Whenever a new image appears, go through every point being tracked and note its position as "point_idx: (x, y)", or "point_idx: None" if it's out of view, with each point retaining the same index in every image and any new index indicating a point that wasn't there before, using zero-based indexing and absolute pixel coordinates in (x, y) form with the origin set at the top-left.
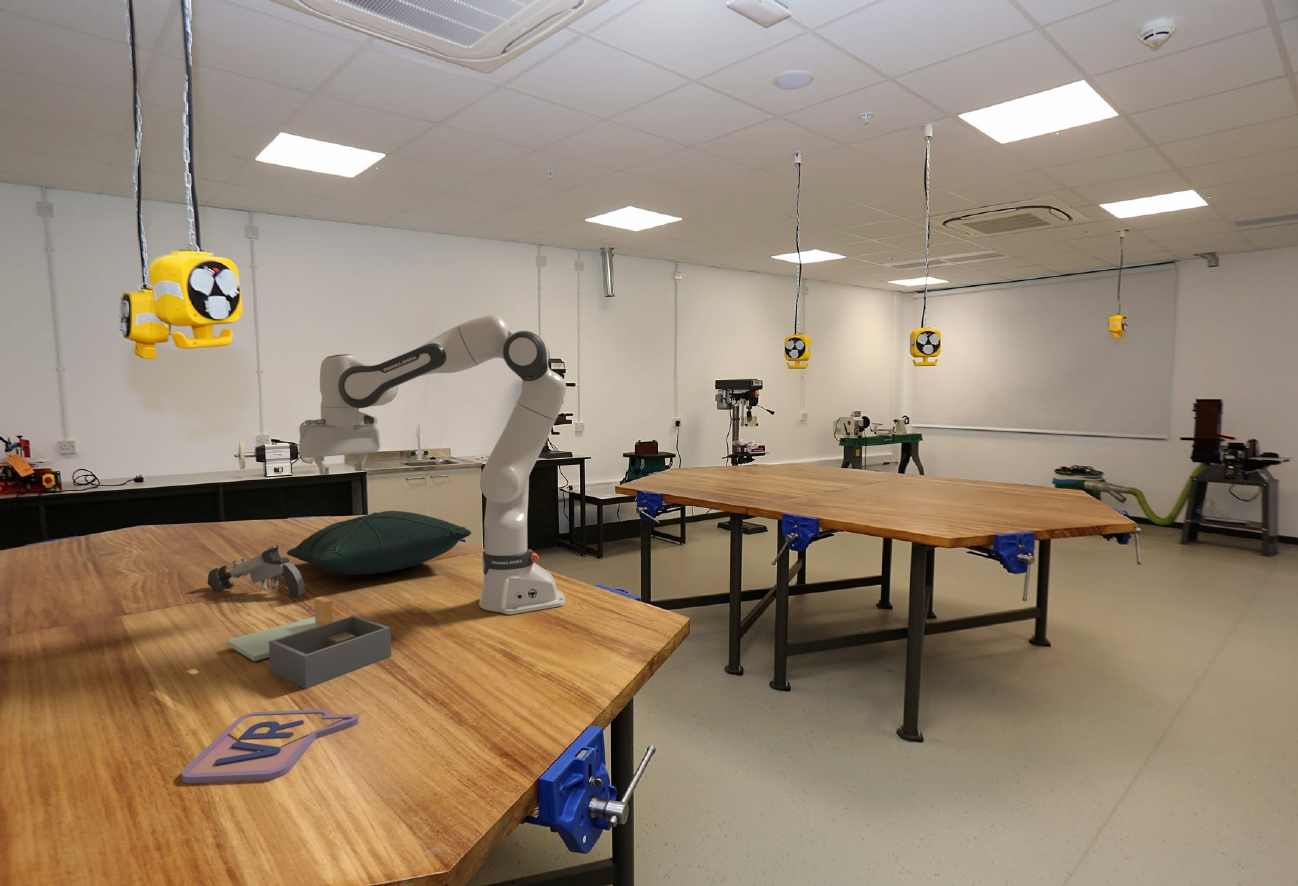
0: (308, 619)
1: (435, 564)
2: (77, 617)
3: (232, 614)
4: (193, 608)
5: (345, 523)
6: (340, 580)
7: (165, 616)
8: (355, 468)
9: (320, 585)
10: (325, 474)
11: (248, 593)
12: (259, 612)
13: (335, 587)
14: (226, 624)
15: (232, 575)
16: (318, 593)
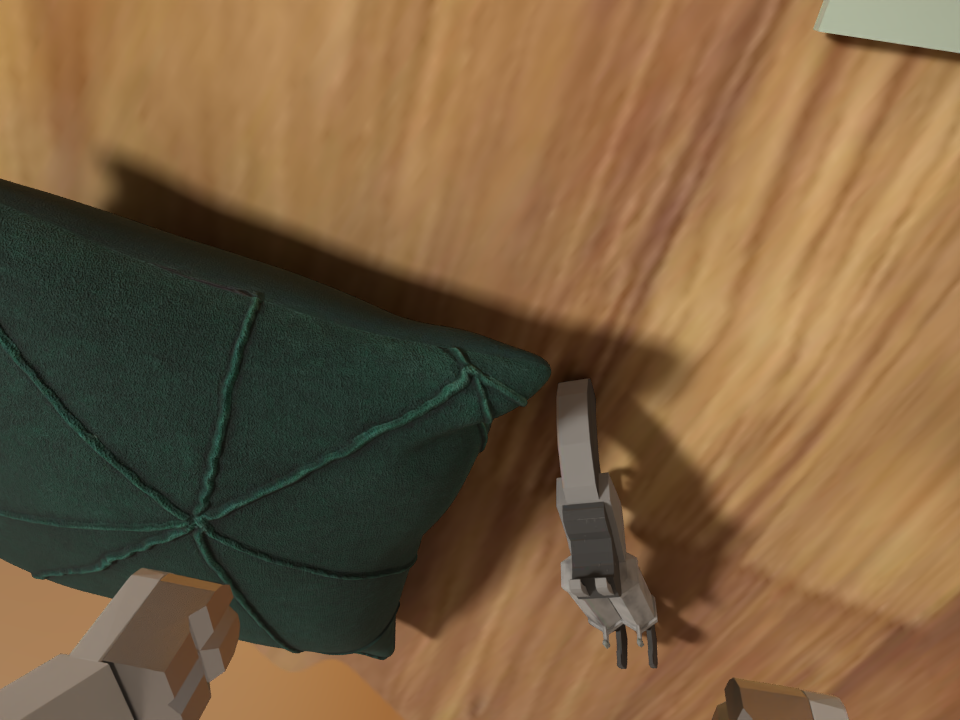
0: (865, 22)
1: None
2: (957, 688)
3: (807, 409)
4: (800, 539)
5: (276, 561)
6: None
7: (887, 543)
8: (220, 653)
9: None
10: (787, 686)
11: (627, 524)
12: (758, 355)
13: None
14: (902, 343)
15: (655, 600)
16: None
